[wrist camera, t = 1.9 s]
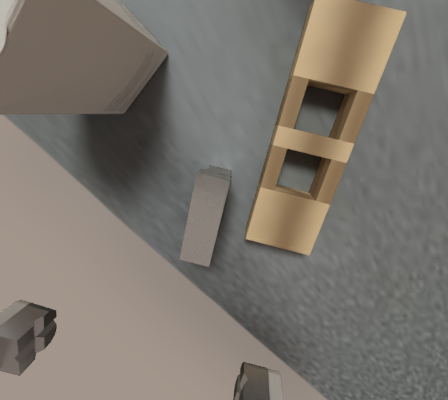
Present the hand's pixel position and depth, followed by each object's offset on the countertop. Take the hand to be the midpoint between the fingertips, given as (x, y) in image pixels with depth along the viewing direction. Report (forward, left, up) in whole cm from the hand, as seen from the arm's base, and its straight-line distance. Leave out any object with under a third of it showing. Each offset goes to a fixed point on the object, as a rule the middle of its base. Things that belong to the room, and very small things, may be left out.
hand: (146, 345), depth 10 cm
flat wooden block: (+8, +9, -19) cm, 22 cm away
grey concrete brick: (0, 0, -19) cm, 19 cm away
